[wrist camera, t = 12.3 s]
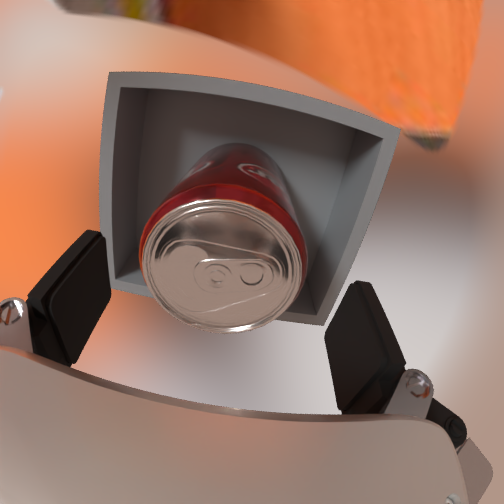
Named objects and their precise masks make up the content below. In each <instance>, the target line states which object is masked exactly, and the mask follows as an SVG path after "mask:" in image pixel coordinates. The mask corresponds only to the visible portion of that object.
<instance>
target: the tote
mask: <svg viewBox="0 0 504 504" xmlns="http://www.w3.org/2000/svg"><path fill="white" fill-rule="evenodd" d="M400 130H401V129H399V128H397V127H395V126H392V125H390V124H387V123H385V122H382V121H380V120H377V119H375V118H372V117H370V116H367V115H364V114H362V113H359V112H356V111H353V110H350V109H347V108H344V107H341V106H338V105H335V104H332V103H329V102H326V101H322V100H319V99H315V98H312V97H308V96H305V95H301V94H297V93H293V92H289V91H285V90H281V89H276V88H272V87H268V86H263V85H257V84H253V83H247V82H242V81H235V80H229V79H222V78H215V77H207V76H198V75H189V74H177V73H161V72H109V76H108V83H107V89H106V96H105V103H104V112H103V123H102V133H101V147H100V169H99V207H100V208H99V210H100V211H99V212H100V232H101V233H102V235H103V237H105V238H106V246H107V258H108V268H109V277H110V286H111V288H112V289H116V290H121V291H125V292H129V293H133V294H138V295H142V296H147V297H151V298H154V297H153V295H152V294H151V292H150V290H149V289H148V287H147V285H146V283H145V281H144V278H143V275H142V273H141V270H140V262H139V245H140V238H141V235H142V232H143V229H144V227H145V224H146V223H147V221H148V220H149V218H150V217H151V215H152V213H153V212H154V211H155V209H156V208H157V207H158V206H159V205H160V203H161V202H162V201H163V200H164V199H165V197H166V196H167V195H168V194H169V193H170V191H171V190H172V189H173V188H174V187H175V186H176V184H177V183H178V182H179V181H180V180H181V179H182V178H183V176H184V175H185V174H186V173H187V172H188V171H189V170H190V169H191V167H192V166H193V165H194V164H195V163H196V162H197V161H198V160H199V159H200V158H201V157H202V156H203V155H204V154H205V153H206V152H207V151H209V150H211V149H213V148H215V147H216V146H220V145H223V144H227V143H246V144H249V145H252V146H255V147H257V148H259V149H261V150H263V151H264V152H266V153H267V154H268V155H269V156H271V157H272V159H273V160H274V161H275V162H276V164H277V165H278V167H279V169H280V171H281V173H282V175H283V178H284V181H285V184H286V187H287V189H288V192H289V195H290V198H291V201H292V204H293V207H294V209H295V212H296V215H297V218H298V221H299V224H300V227H301V230H302V233H303V236H304V239H305V244H306V248H307V253H308V270H307V274H306V278H305V282H304V285H303V287H302V289H301V291H300V293H299V295H298V297H297V298H296V299H295V301H294V302H293V303H292V304H291V306H290V307H289V308H288V309H287V310H285V311H284V312H283V313H282V314H281V315H279V316H278V317H277V318H276V319H275V320H281V321H289V322H297V323H304V324H312V325H321V326H323V325H324V324H325V322H326V320H327V318H328V316H329V314H330V312H331V310H332V308H333V306H334V303H335V301H336V299H337V297H338V295H339V293H340V291H341V288H342V286H343V284H344V282H345V280H346V278H347V275H348V273H349V271H350V269H351V266H352V264H353V262H354V259H355V257H356V254H357V252H358V250H359V247H360V245H361V243H362V240H363V238H364V235H365V233H366V230H367V228H368V225H369V223H370V220H371V218H372V215H373V212H374V210H375V207H376V204H377V201H378V199H379V196H380V193H381V190H382V187H383V184H384V181H385V179H386V176H387V173H388V169H389V167H390V163H391V160H392V157H393V154H394V151H395V148H396V144H397V141H398V137H399V134H400Z"/></svg>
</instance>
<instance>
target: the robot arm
mask: <svg viewBox="0 0 504 504" xmlns="http://www.w3.org/2000/svg"><path fill="white" fill-rule="evenodd" d="M110 298H111V286H110V277H109V268H108V258H107V246H106V238H105V237H103V235H102V233H101V232H98V231H92V230H86V231H85V232H84V233H83V234H82V235H81V236H80V237H79V238H78V239H77V240H76V241H75V242H74V243H73V244H72V245H71V246H70V247H69V248H68V249H67V251H66V252H65V253H64V254H63V255H62V256H61V257H60V258H59V259H58V260H57V261H56V263H55V264H54V265H53V266H52V267H51V268H50V269H49V270H48V271H47V273H46V274H45V275H44V276H43V277H42V278H41V280H40V281H39V282H38V283H37V284H36V285H35V287H34V288H33V289H32V290H31V291H30V293H29V294H28V299H27V300H26V302H24V300H22V299H20V298H16V297H13V298H8V299H5V300H3V301H2V302H0V504H477V503H478V502H479V500H480V499H481V497H482V495H483V494H484V492H485V490H486V489H487V487H488V485H489V484H490V482H491V480H492V477H493V470H492V467H491V464H490V463H489V462H488V460H487V459H486V458H485V456H484V455H483V454H482V453H481V451H480V450H479V449H478V447H477V446H476V445H475V444H474V443H473V441H472V440H471V439H470V438H468V439H466V437H467V429H466V426H465V424H464V422H463V420H462V419H461V418H460V417H459V416H457V415H456V414H454V413H453V412H452V411H450V410H449V409H447V408H446V407H445V406H443V405H442V404H441V403H439V402H438V401H437V400H435V399H434V398H432V397H433V391H434V389H433V384H432V383H431V380H430V379H429V378H428V376H427V375H425V374H424V373H423V372H422V371H419V370H417V369H408V370H405V367H404V366H405V364H406V361H405V359H404V356H403V354H402V351H401V349H400V346H399V344H398V342H397V339H396V337H395V335H394V332H393V330H392V328H391V325H390V323H389V321H388V319H387V317H386V314H385V312H384V310H383V308H382V305H381V303H380V301H379V299H378V297H377V295H376V293H375V291H374V289H373V287H372V284H370V283H369V282H363V281H355V282H354V284H353V283H351V284H350V286H349V287H348V289H347V291H346V293H345V295H344V297H343V299H342V301H341V303H340V305H339V307H338V309H337V311H336V313H335V315H334V317H333V319H332V321H331V322H330V324H329V326H328V328H327V330H326V332H325V337H324V339H325V344H326V349H327V354H328V359H329V364H330V369H331V375H332V379H333V385H334V391H335V396H336V402H337V407H338V409H339V410H341V412H342V415H321V414H317V415H316V414H291V413H276V412H264V411H263V412H262V411H254V410H245V409H236V408H229V407H222V406H215V405H209V404H203V403H197V402H192V401H187V400H182V399H177V398H172V397H168V396H163V395H159V394H155V393H151V392H147V391H143V390H139V389H135V388H132V387H128V386H125V385H121V384H118V383H114V382H111V381H108V380H105V379H102V378H99V377H95V376H93V375H90V374H87V373H84V372H81V371H79V370H76V369H73V368H70V367H71V365H72V363H73V364H75V363H76V362H77V360H78V358H79V356H80V354H81V352H82V350H83V348H84V346H85V344H86V343H87V341H88V339H89V337H90V335H91V333H92V331H93V329H94V327H95V326H96V324H97V322H98V320H99V318H100V317H101V315H102V313H103V311H104V309H105V308H106V306H107V304H108V303H109V301H110Z"/></svg>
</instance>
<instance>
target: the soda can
mask: <svg viewBox="0 0 504 504" xmlns="http://www.w3.org/2000/svg"><path fill="white" fill-rule="evenodd" d="M139 262H140V270H141V273H142V275H143V278H144V281H145V283H146V285H147V287H148V289H149V290H150V292H151V294H152V295H153V297H154V299H155V300H156V301H157V302H158V303H159V304H160V306H161V307H162V308H163V309H164V310H166V311H167V312H168V313H169V314H170V315H171V316H173V317H174V318H176V319H177V320H179V321H181V322H183V323H184V324H186V325H189V326H191V327H194V328H196V329H199V330H203V331H208V332H213V333H223V334H227V333H240V332H245V331H251V330H253V329H256V328H259V327H262V326H264V325H266V324H267V323H269V322H271V321H273V320H275V319H276V318H277V317H278V316H279V315H281V314H282V313H283V312H284V311H285V310H287V309H288V308H289V307H290V306H291V304H292V303H293V302H294V301H295V299H296V298H297V297H298V295H299V293H300V291H301V289H302V287H303V285H304V282H305V278H306V274H307V270H308V253H307V248H306V244H305V239H304V236H303V233H302V230H301V227H300V224H299V221H298V218H297V215H296V212H295V209H294V207H293V204H292V201H291V198H290V195H289V192H288V189H287V187H286V184H285V181H284V178H283V175H282V173H281V171H280V169H279V167H278V165H277V164H276V162H275V161H274V160H273V159H272V157H271V156H269V155H268V154H267V153H266V152H264V151H263V150H261V149H259V148H257V147H255V146H252V145H249V144H246V143H227V144H223V145H220V146H216V147H215V148H213V149H211V150H209V151H207V152H206V153H205V154H204V155H203V156H202V157H201V158H200V159H199V160H198V161H197V162H196V163H195V164H194V165H193V166H192V167H191V169H190V170H189V171H188V172H187V173H186V174H185V175H184V176H183V178H182V179H181V180H180V181H179V182H178V183H177V184H176V186H175V187H174V188H173V189H172V190H171V191H170V193H169V194H168V195H167V196H166V197H165V199H164V200H163V201H162V202H161V203H160V205H159V206H158V207H157V208H156V209H155V211H154V212H153V213H152V215H151V217H150V218H149V220H148V221H147V223H146V224H145V227H144V229H143V232H142V235H141V238H140V245H139Z"/></svg>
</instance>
